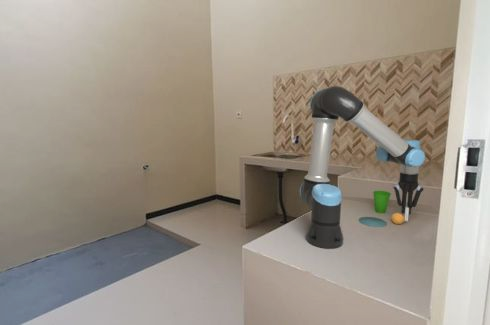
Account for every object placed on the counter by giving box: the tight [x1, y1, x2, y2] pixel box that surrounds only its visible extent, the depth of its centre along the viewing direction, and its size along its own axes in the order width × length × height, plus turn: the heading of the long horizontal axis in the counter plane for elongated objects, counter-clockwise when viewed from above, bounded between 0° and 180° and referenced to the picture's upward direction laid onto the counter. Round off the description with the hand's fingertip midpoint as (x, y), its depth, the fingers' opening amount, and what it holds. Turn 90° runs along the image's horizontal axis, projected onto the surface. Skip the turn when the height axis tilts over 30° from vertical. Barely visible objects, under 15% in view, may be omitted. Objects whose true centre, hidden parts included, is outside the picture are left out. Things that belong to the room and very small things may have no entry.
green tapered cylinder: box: [372, 190, 392, 214], centre depth 152 cm, size 9×9×11 cm
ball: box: [390, 212, 405, 225], centre depth 135 cm, size 6×6×6 cm
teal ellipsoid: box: [358, 216, 388, 228], centre depth 138 cm, size 13×13×1 cm
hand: (405, 219), depth 134 cm, fingers closed
